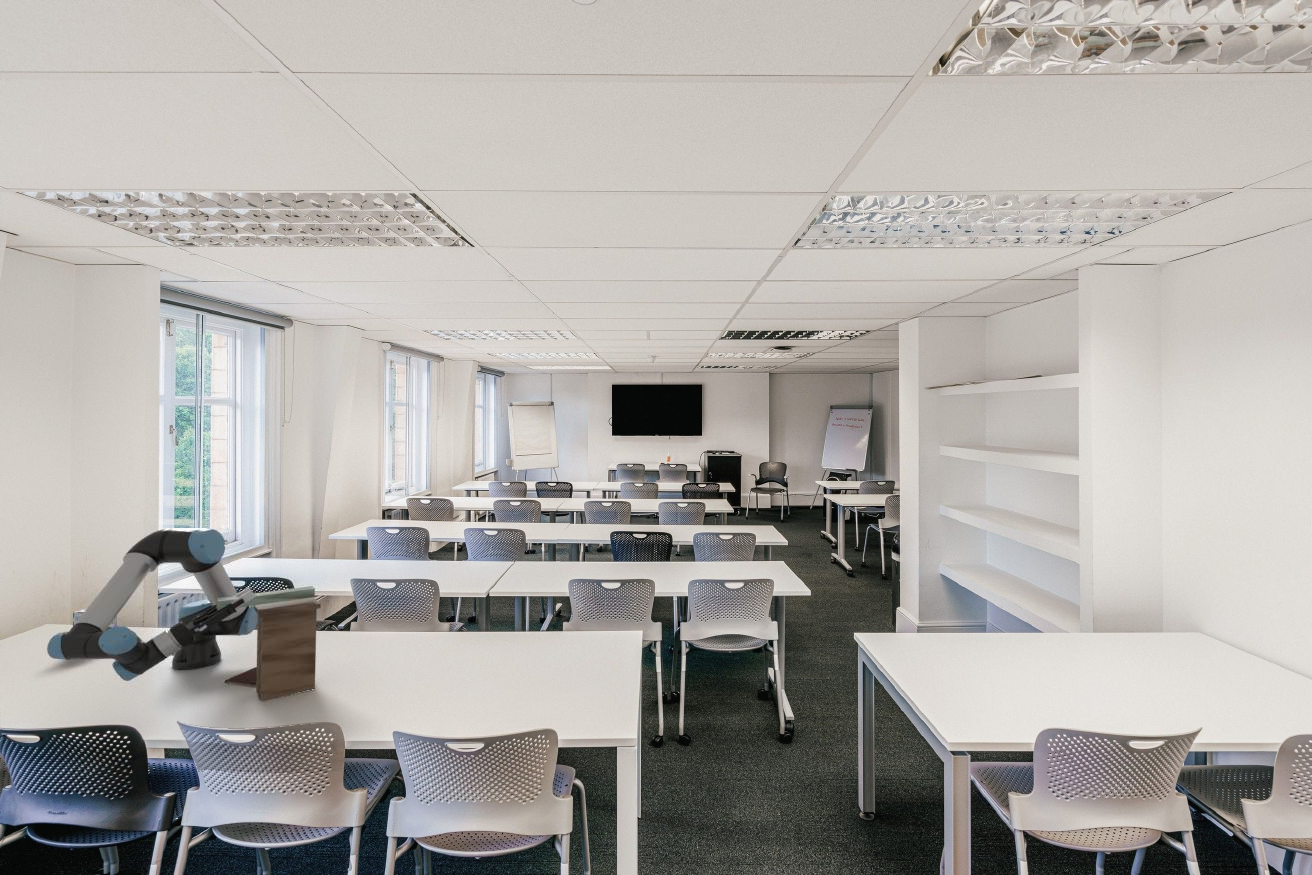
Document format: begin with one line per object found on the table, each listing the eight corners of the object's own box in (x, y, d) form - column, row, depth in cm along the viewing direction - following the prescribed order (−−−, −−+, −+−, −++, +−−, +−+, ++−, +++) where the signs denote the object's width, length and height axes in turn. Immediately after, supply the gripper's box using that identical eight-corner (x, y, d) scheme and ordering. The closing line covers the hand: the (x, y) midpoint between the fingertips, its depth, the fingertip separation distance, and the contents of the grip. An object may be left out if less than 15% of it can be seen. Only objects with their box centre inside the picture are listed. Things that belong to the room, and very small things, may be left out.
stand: (252, 691, 213) (254, 604, 213) (310, 678, 225) (312, 596, 225) (258, 703, 204) (260, 612, 204) (318, 689, 216) (320, 603, 216)
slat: (216, 607, 202) (216, 598, 202) (312, 594, 221) (312, 585, 221) (217, 610, 199) (217, 601, 199) (314, 596, 218) (314, 588, 218)
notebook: (224, 684, 219) (224, 678, 219) (270, 664, 239) (270, 659, 239) (259, 689, 216) (260, 683, 216) (303, 668, 236) (303, 663, 236)
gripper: (180, 640, 202) (254, 594, 215) (185, 655, 189) (263, 606, 202) (166, 622, 199) (242, 577, 212) (169, 636, 186) (250, 588, 199)
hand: (252, 591), depth 207 cm, fingers closed on slat, 4 cm apart
